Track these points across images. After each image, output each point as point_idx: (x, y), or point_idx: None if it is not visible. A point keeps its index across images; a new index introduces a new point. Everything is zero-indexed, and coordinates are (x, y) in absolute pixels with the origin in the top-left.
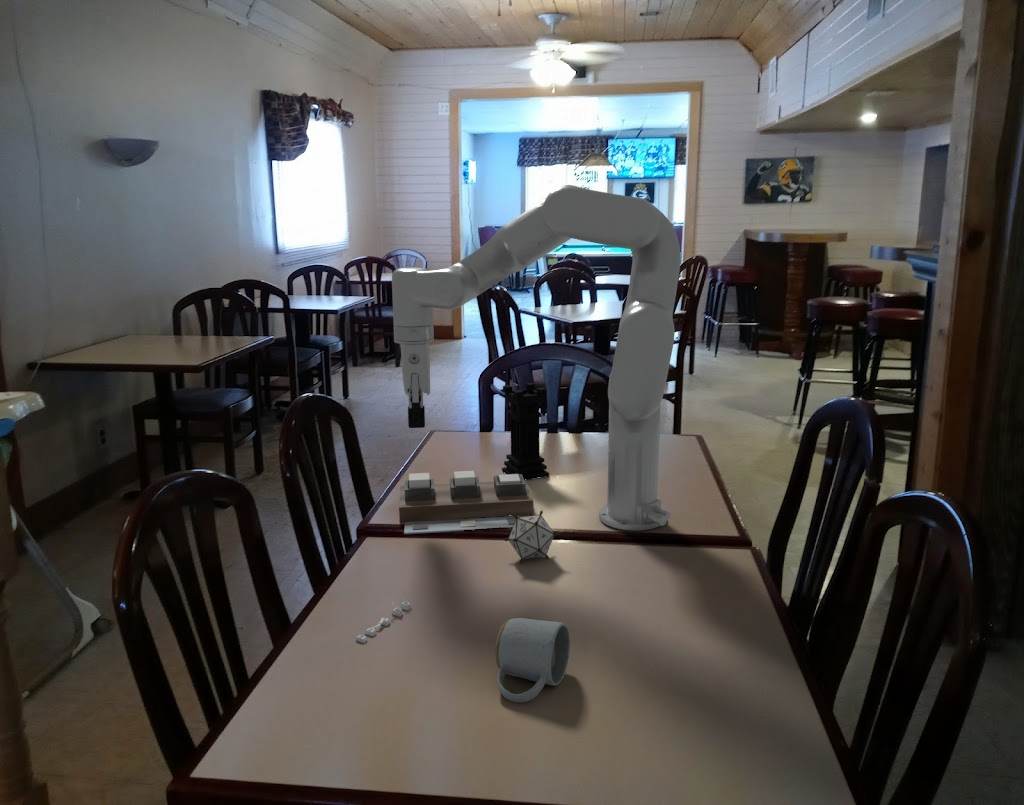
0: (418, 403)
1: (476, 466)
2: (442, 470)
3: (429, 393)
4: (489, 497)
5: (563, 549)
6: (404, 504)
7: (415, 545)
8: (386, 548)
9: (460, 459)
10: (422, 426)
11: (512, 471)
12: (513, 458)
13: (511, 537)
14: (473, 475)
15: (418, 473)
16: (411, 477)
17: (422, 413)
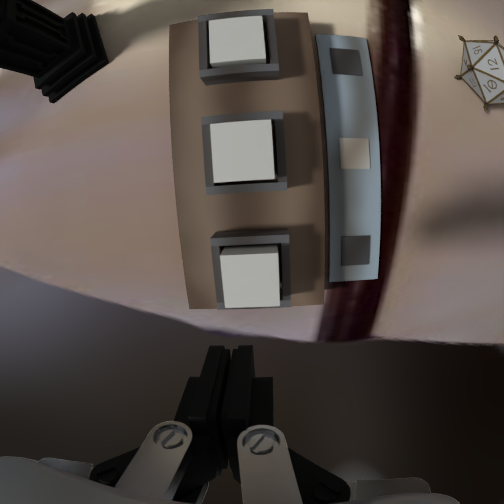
0: (327, 477)
1: (30, 157)
2: (45, 221)
3: (430, 496)
4: (282, 95)
5: (443, 27)
6: (307, 294)
7: (422, 254)
8: (421, 299)
9: (5, 193)
10: (253, 355)
11: (73, 75)
12: (55, 67)
13: (499, 101)
14: (255, 124)
15: (224, 284)
16: (257, 300)
17: (248, 401)
